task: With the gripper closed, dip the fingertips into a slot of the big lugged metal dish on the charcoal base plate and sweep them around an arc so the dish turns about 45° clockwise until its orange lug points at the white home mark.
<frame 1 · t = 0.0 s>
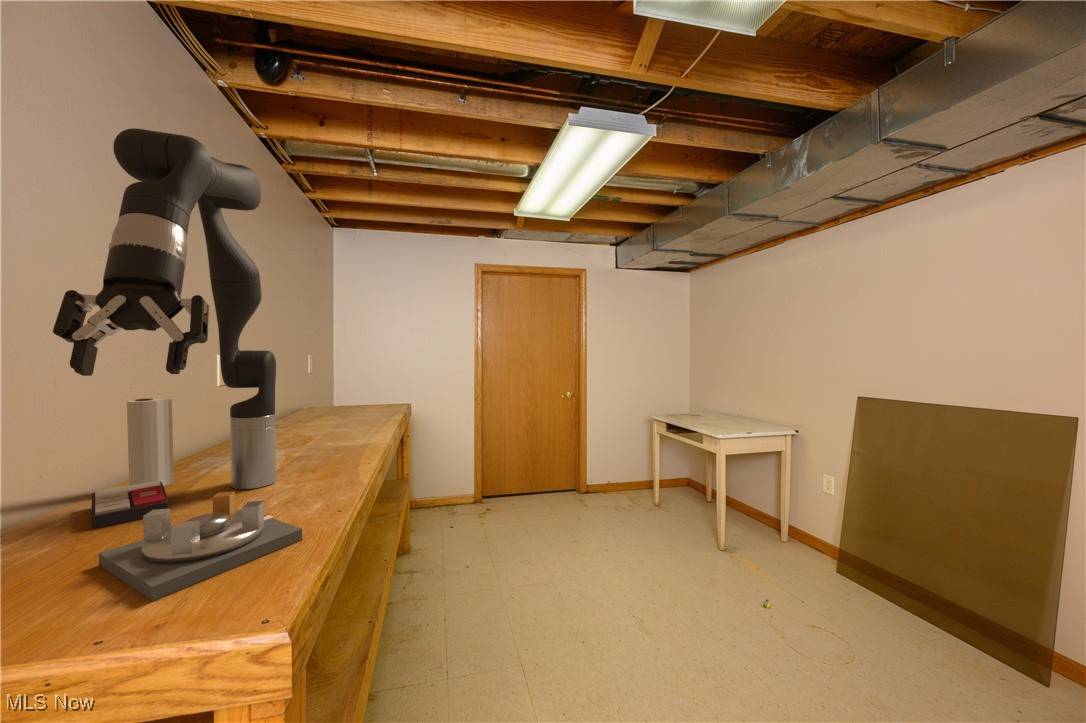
hand: (128, 373, 52), 31 cm above the workbench, tool tilted 20°, fingers open, 8 cm apart
paper towel roll: (148, 488, 103), on the workbench
calculator: (130, 513, 89), on the workbench
lugged metal dish: (206, 523, 71), point 5 cm above the workbench, hinge at 0.0°
base plate: (207, 551, 72), on the workbench
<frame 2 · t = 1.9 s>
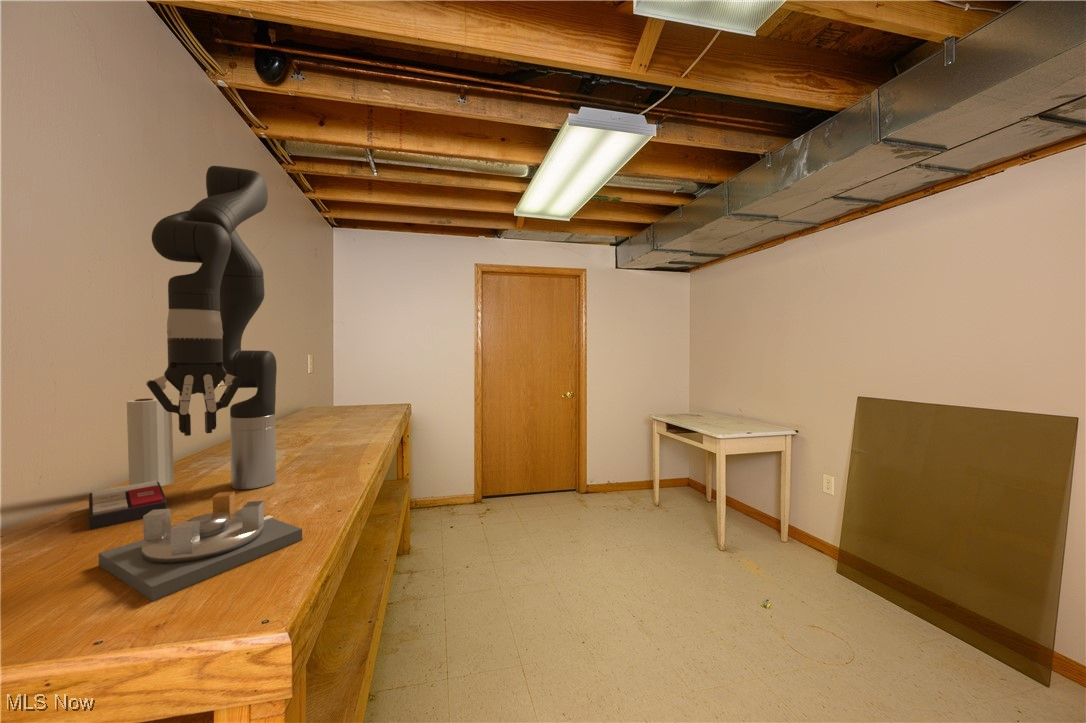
hand: (197, 433, 76), 19 cm above the workbench, tool pointing down, fingers closed
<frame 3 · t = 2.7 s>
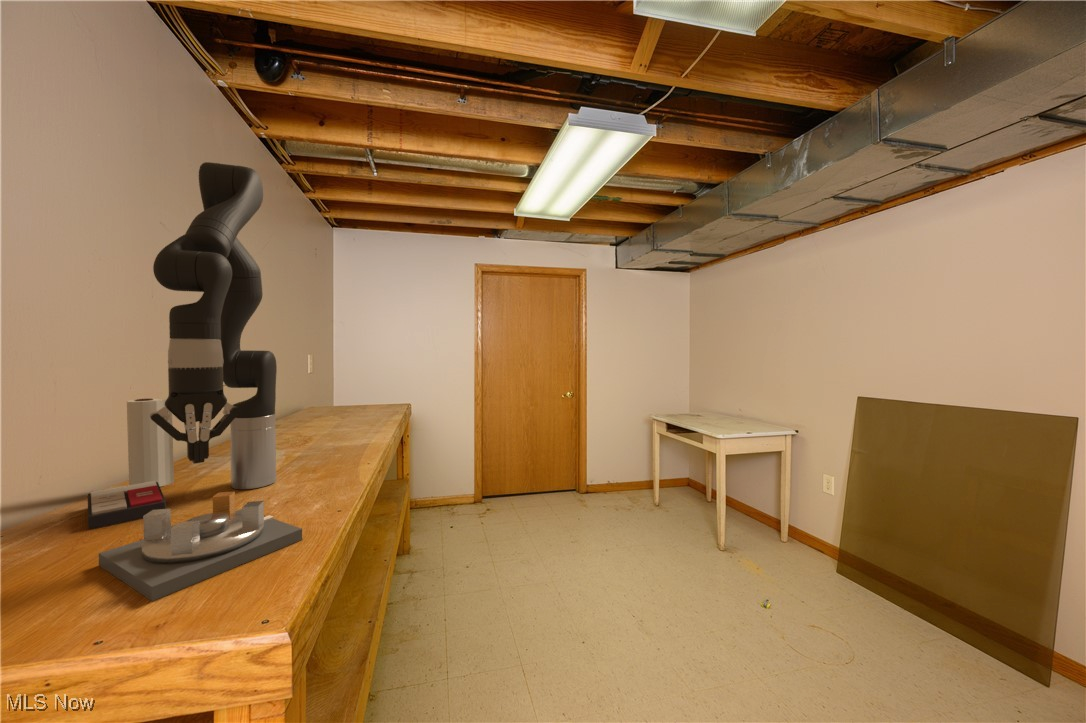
hand: (198, 462, 76), 14 cm above the workbench, tool pointing down, fingers closed
nothing on the workbench moved.
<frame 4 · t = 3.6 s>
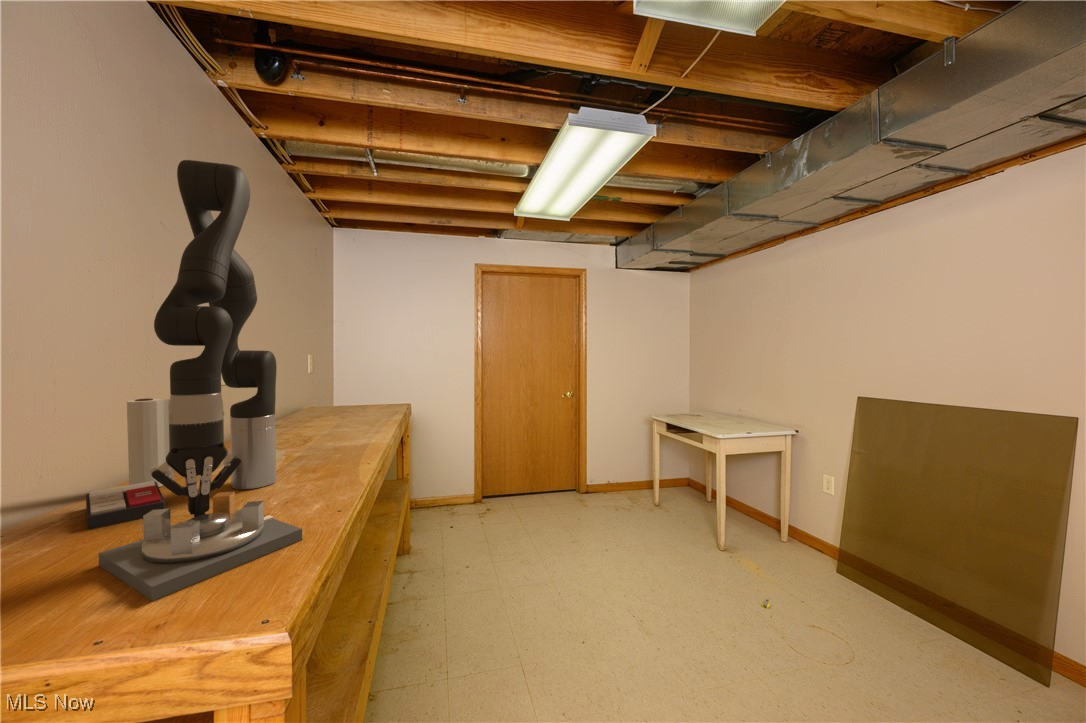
hand: (198, 515, 76), 4 cm above the workbench, tool pointing down, fingers closed
lugged metal dish: (206, 523, 71), point 5 cm above the workbench, hinge at 0.0°, touching gripper
everything else where it was.
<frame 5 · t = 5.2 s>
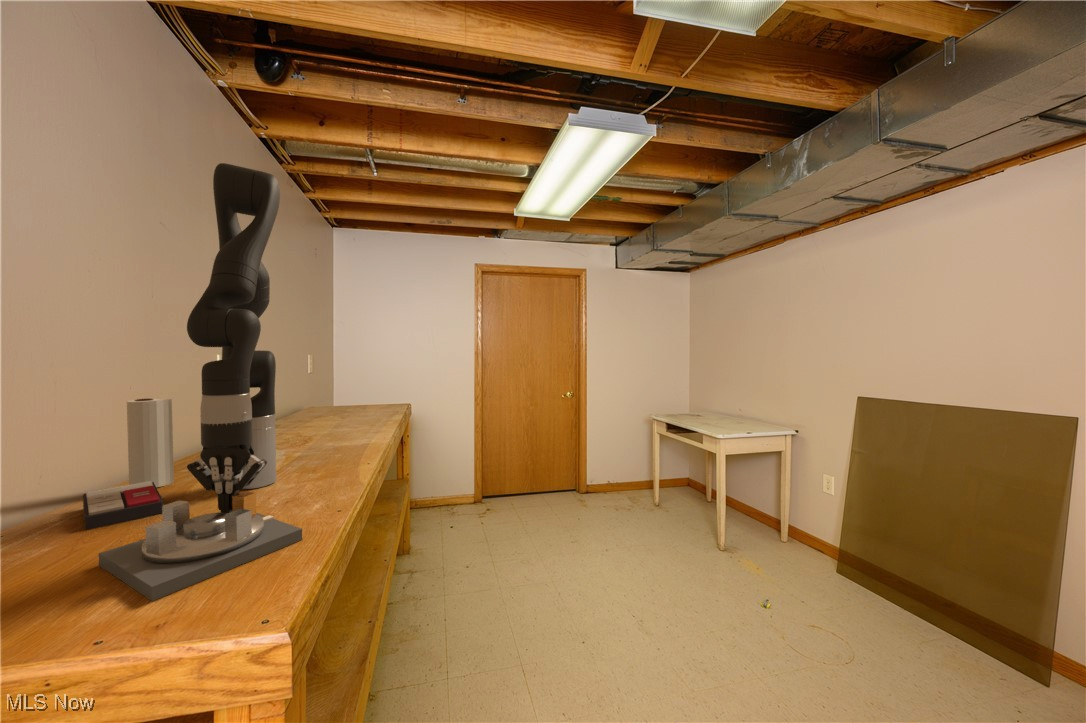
hand: (228, 511, 78), 4 cm above the workbench, tool pointing down, fingers closed
lugged metal dish: (206, 523, 71), point 5 cm above the workbench, hinge at -31.2°, touching gripper
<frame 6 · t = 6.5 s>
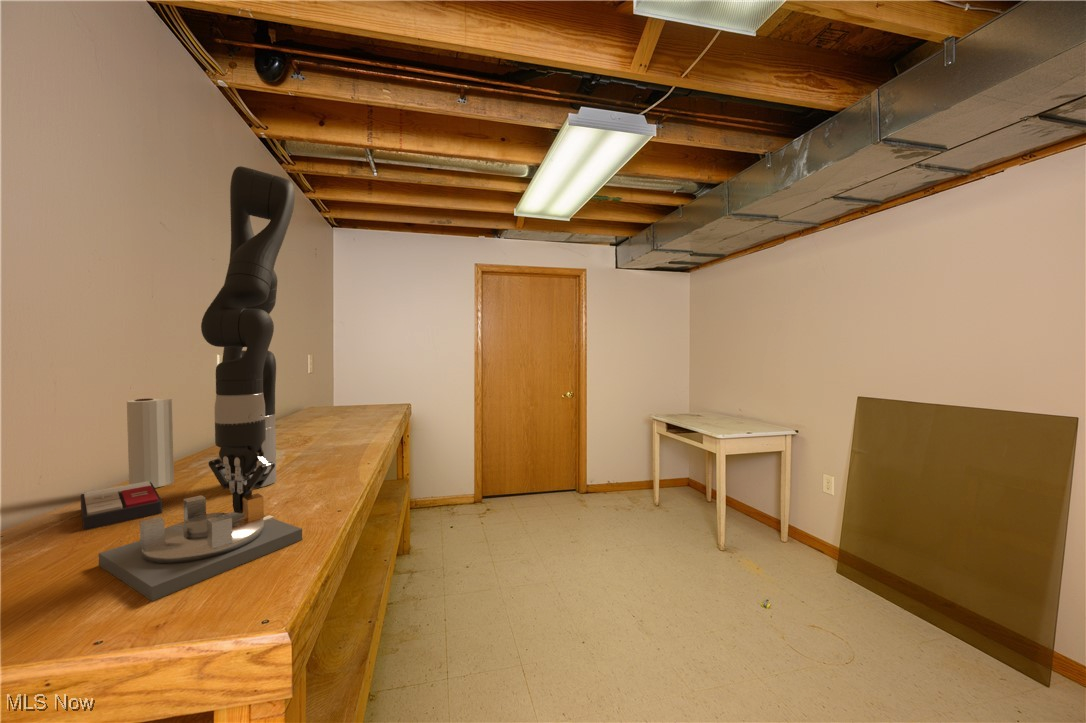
hand: (242, 511, 78), 4 cm above the workbench, tool pointing down, fingers closed
lugged metal dish: (206, 523, 71), point 5 cm above the workbench, hinge at -54.3°, touching gripper
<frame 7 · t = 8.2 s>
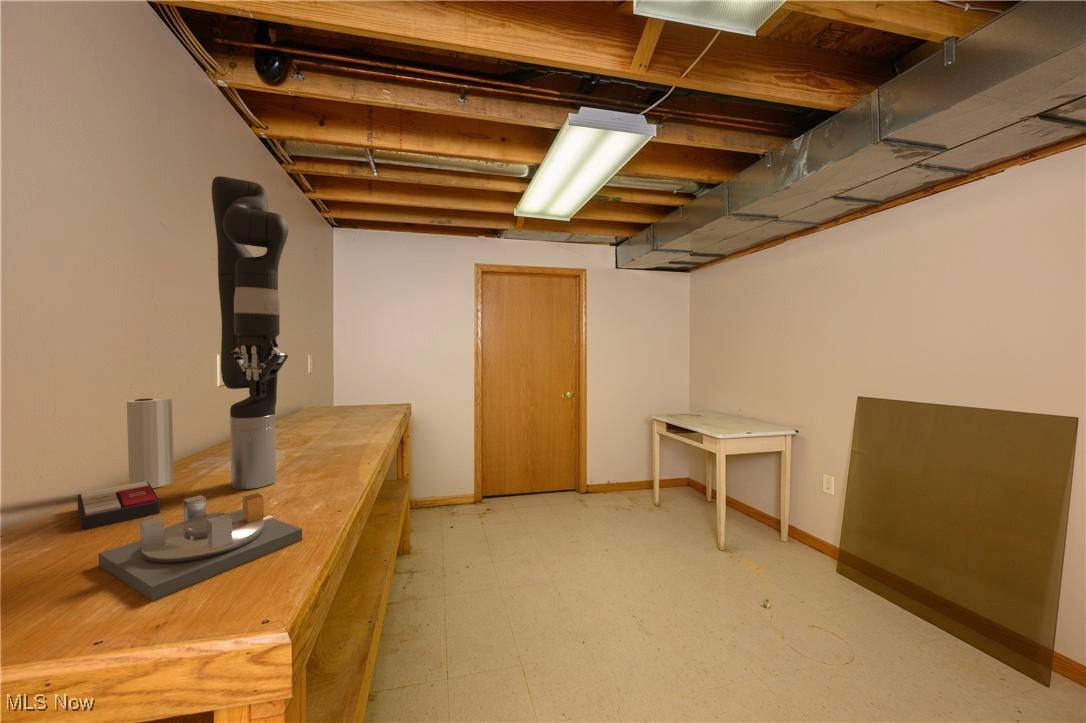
hand: (257, 398, 86), 24 cm above the workbench, tool pointing down, fingers closed
lugged metal dish: (206, 523, 71), point 5 cm above the workbench, hinge at -54.3°
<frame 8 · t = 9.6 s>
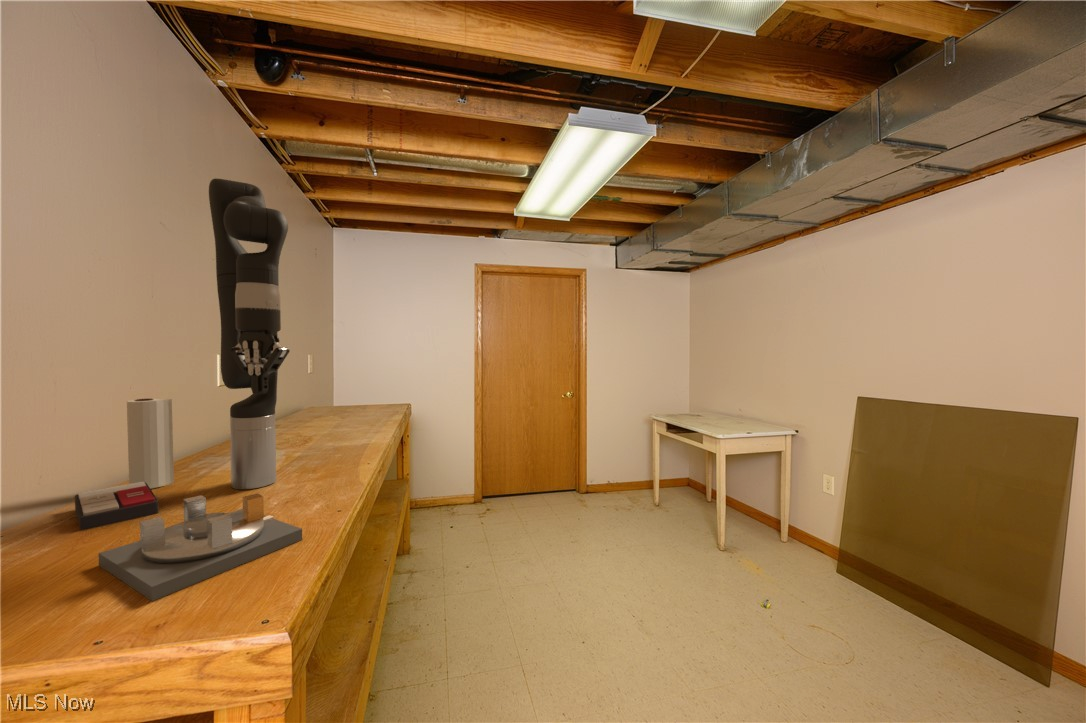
hand: (259, 393, 86), 25 cm above the workbench, tool pointing down, fingers closed
at the end: lugged metal dish at -54° (first picture: +0°) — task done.
